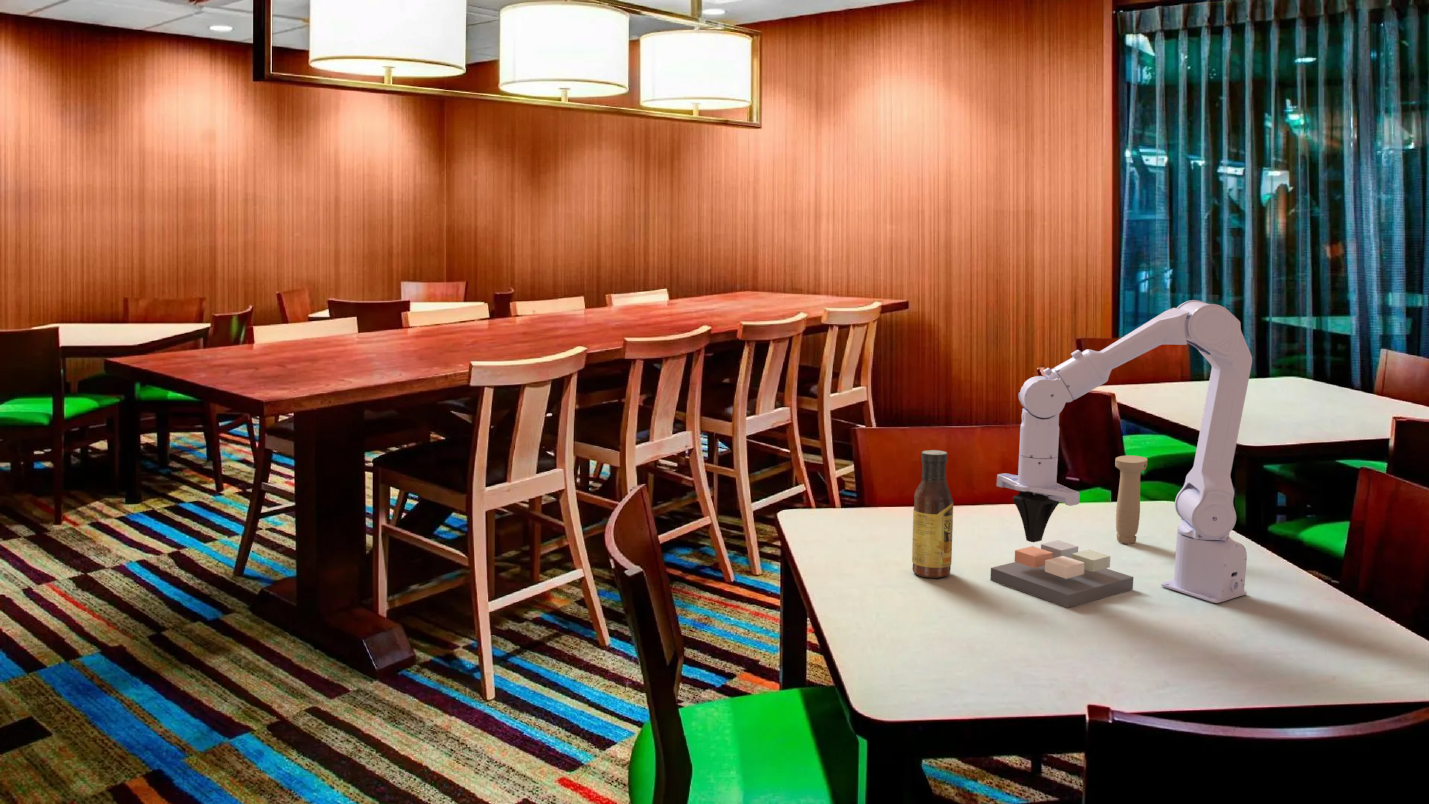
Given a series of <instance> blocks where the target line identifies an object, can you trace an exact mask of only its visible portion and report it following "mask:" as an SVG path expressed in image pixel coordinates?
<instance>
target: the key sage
mask: <svg viewBox="0 0 1429 804" xmlns="http://www.w3.org/2000/svg"><path fill="white" fill-rule="evenodd" d="M1072 559H1075V560H1078V561H1081V562H1084V563H1085V564H1084V569H1085V570H1089V571H1092V572H1094V571H1098V570H1102V569H1105V568H1107V569H1109V568H1110V567H1111V555H1108V554H1105V553H1101V552H1098V551H1095V550H1091V549H1085V550H1081V551H1078V552H1077V553H1073V554H1072Z"/></svg>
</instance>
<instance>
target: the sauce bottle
mask: <svg viewBox="0 0 1429 804" xmlns="http://www.w3.org/2000/svg"><path fill="white" fill-rule="evenodd" d="M920 456H921V459H920V460H921V463H922V470H921V472H922V473H921V479H922V480H921V481H920V483H919V485H918V486H916V489H915V491H914V496H913V500H914V501H913V504H914V505H913V511H912V547H911V548H912V550H911V552H912V554H911V562H912V572H913V574H915V575H917V576H919V577H923V578H931V579H932V578H933V579H939V578H944V577H947V576H949V575H950V574H951V566H952V557H953V556H952V555H953V529H954V527H953V526H954V525H953V524H954V523H953V521H954V519H953V518H954V500H953V497H952V493H951V490H950V487H949V484H948V481H947V463H948V452H947V451H944V450H937V449H931V450H923V451H922V452H921V455H920Z"/></svg>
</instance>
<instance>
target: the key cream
mask: <svg viewBox="0 0 1429 804" xmlns="http://www.w3.org/2000/svg"><path fill="white" fill-rule="evenodd" d="M1084 564H1085V563H1084V562H1081V561H1078V560H1075V559H1072V558H1068V557H1065V556H1061V557H1056V558H1052V559H1048V560H1045V572H1048V573H1051V574H1053V575H1056V576H1059V577H1062V578H1065V579H1067V578H1071V577H1075V576H1079V575H1083V574H1084Z"/></svg>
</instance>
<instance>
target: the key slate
mask: <svg viewBox="0 0 1429 804" xmlns="http://www.w3.org/2000/svg"><path fill="white" fill-rule="evenodd" d="M1040 549H1043V550H1046V551H1049V552H1053V557H1052V558H1056V557H1061V556H1065V557H1068V558H1072V554H1073V553H1077V552H1079V546H1078V545H1075V544H1071V543H1068V542H1065V541H1061V540H1058V539H1057V540H1054V541H1049V542H1045V543H1041V544H1040Z"/></svg>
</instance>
